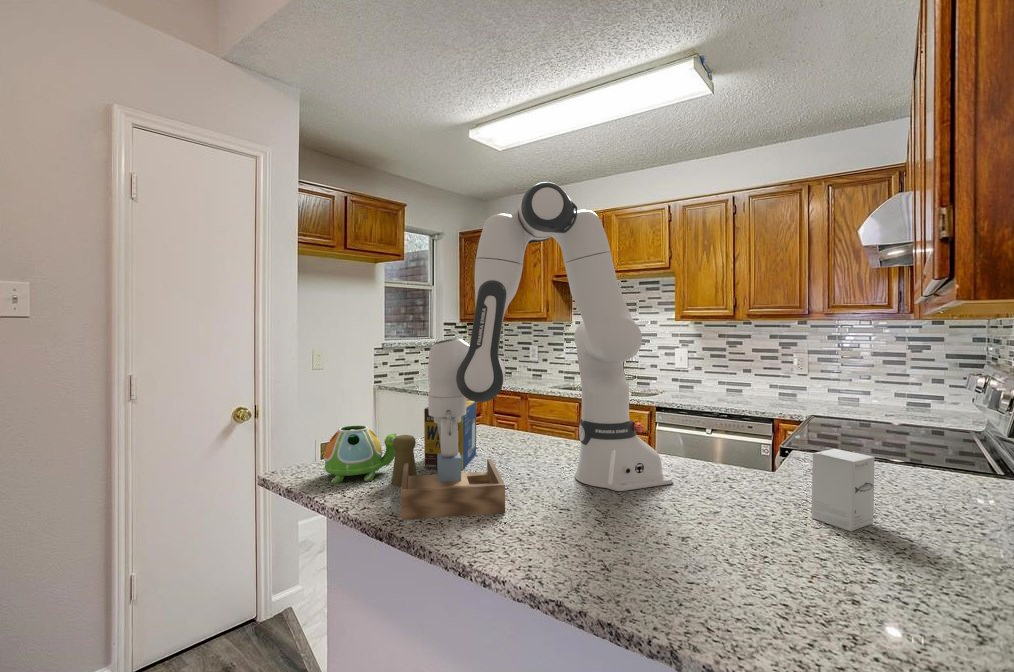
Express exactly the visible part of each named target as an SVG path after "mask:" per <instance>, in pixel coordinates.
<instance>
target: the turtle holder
mask: <svg viewBox="0 0 1014 672" xmlns="http://www.w3.org/2000/svg"><path fill="white" fill-rule="evenodd" d="M397 436H399V435H398V434H397V433H391V434H388V435H387V436H386V437H385V439H384V443H383V444H384V445H385V451H384V452H385V453H384V454H383V451H382V450H383V449H382V446H381V442H380V439H379V438H378V437H377V435H376V434H375V433H374V432H373V431H372V430H371V429H370V428H369V426H368V425H366V424H365V425H364V424H356V425H355V424H353V425H344V426H341V427H339V428H338V429H337V431H336V432H335V433H334V435H332V437H331V438H330V439H329V441H328V443H327V445H326V448H325V454H324V458H323V459H324V463H325V465H324V469H325V472H326V473H327V474H330V475H335V477H333V478H332V479H331V481H330V483H331V484H339V483H342V482H343V481H344V479H345V476H358V475H365V476H364V477H363V481H364V482H369V480H370V481H373V480H374V478H375V476H376V472H377V471H379V470H380V469H381V468H383V467H385V466H388V465H390V464H391V463H392V462H394V459H395V451H396V450H395V449H394V447H393V440H394V439H395V437H397ZM382 455H383V456H382Z"/></svg>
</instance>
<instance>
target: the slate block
mask: <svg viewBox="0 0 1014 672" xmlns="http://www.w3.org/2000/svg"><path fill="white" fill-rule="evenodd" d="M437 466H438V469H437V474H438V482H447V481H461V473H462V470H461V456H460V453H459V452H458V455H457V456H450V457H443V456H442V454H441V453H437Z"/></svg>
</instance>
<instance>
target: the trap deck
mask: <svg viewBox="0 0 1014 672" xmlns="http://www.w3.org/2000/svg"><path fill="white" fill-rule="evenodd" d="M486 464H487V465H486V471H478V472H477V471H476V472H461V481H447V482H438V473H437V474H422V475H417V476H409V463H404V467H403V476H402V484H401V487H400V521H408V520H409V521H410V520H421V519H423V520H424V519H435V518H436V519H437V518H449V517H450V518H451V517H463V516H464V517H465V516H479V515H491V514H506V484H505V482H504V480H503V478H502V476H501V475H500V472H499V471H498V469H497V467H496V465H495V463H494V461H493V458H487V459H486Z"/></svg>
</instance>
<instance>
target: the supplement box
mask: <svg viewBox="0 0 1014 672" xmlns="http://www.w3.org/2000/svg"><path fill="white" fill-rule="evenodd" d="M875 460H876V459H875V456H873V455H867V454H864V453H863V454H862V453H858V452H853V451H848V450H842V449H838V448H831V449H826V450H821V451H817V452H813V453H812V466H811V467H812V469H811V470H812V471H811V474H812V475H811V479H812V480H811V519H814V520H817V521H820V522H822V523H825V524H828V525H830V526H833V527H836V528H839V529H842V530H845V531H849V532H854V531H856V530H858V529H861V528H864V527H867V526H870V525H874V506H875V505H874V503H875Z"/></svg>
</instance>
